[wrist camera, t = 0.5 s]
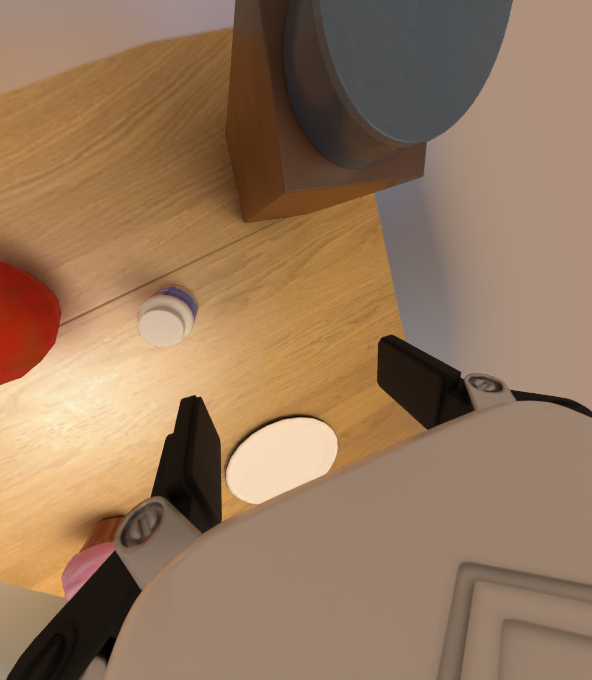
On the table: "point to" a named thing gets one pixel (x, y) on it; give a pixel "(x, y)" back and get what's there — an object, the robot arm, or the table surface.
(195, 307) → the pill bottle
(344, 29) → the tin
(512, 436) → the robot arm
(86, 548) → the cupcake
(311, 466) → the plate
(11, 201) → the table surface
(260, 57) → the stand
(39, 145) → the table surface
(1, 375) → the apple
